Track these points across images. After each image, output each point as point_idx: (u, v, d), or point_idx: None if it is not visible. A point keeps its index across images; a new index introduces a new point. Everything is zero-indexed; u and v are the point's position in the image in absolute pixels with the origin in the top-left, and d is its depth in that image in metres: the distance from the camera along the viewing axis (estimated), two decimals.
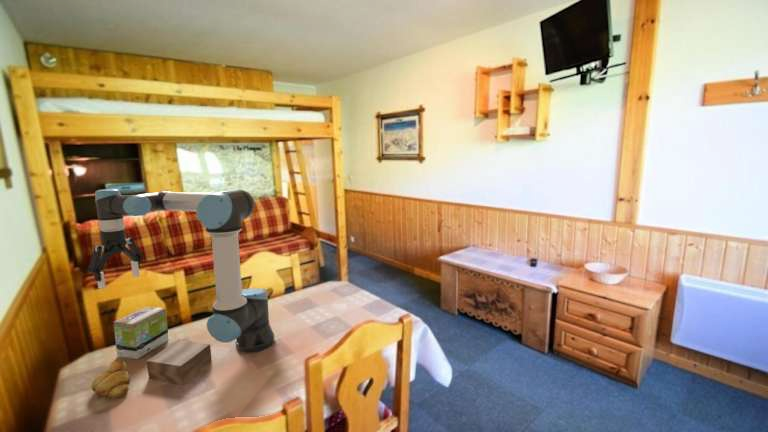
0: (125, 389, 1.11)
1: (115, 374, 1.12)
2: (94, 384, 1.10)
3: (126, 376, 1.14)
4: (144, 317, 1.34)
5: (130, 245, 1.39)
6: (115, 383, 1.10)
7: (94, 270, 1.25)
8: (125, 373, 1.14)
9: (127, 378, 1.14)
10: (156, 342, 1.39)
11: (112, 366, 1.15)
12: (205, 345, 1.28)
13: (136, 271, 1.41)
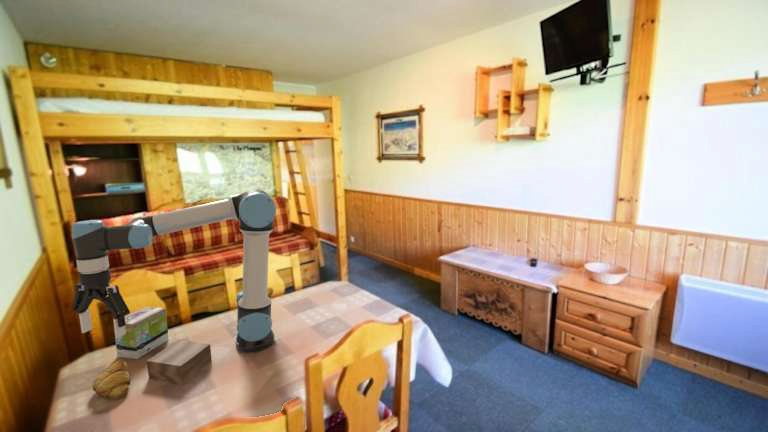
0: (125, 389, 1.11)
1: (115, 374, 1.12)
2: (95, 384, 1.10)
3: (127, 376, 1.14)
4: (144, 317, 1.34)
5: None
6: (115, 383, 1.10)
7: (73, 308, 1.10)
8: (126, 373, 1.14)
9: (128, 378, 1.14)
10: (156, 342, 1.39)
11: (113, 366, 1.15)
12: (205, 345, 1.28)
13: None
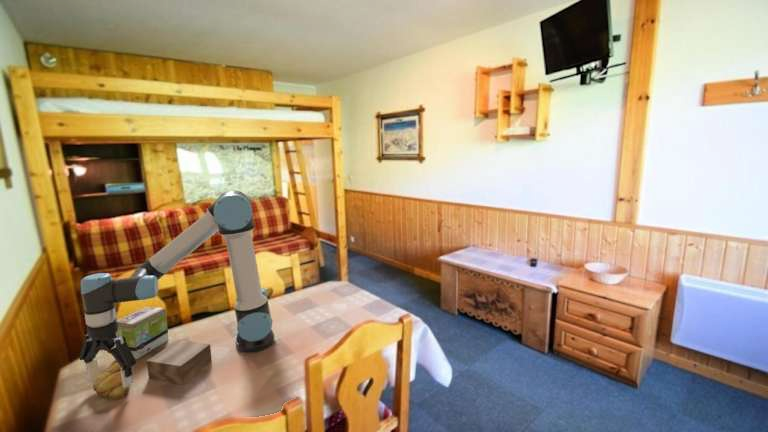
0: (126, 390, 1.11)
1: (116, 374, 1.12)
2: (95, 384, 1.10)
3: None
4: (144, 317, 1.34)
5: None
6: (116, 384, 1.10)
7: (80, 358, 1.12)
8: None
9: None
10: (156, 342, 1.39)
11: (114, 366, 1.15)
12: (205, 345, 1.28)
13: None
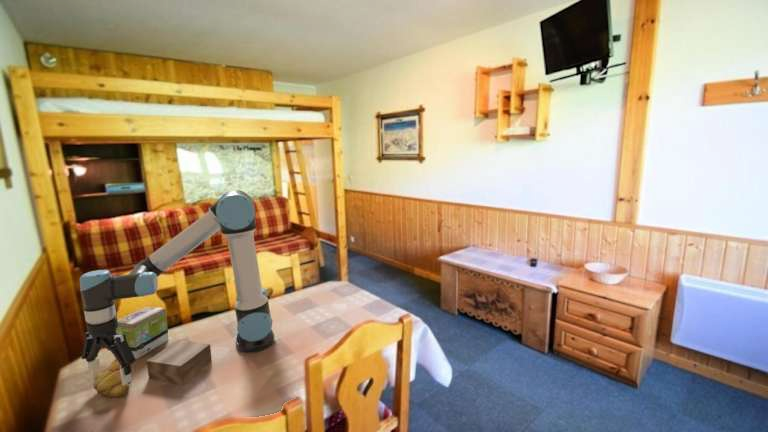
0: (126, 388, 1.11)
1: (116, 372, 1.12)
2: (96, 382, 1.11)
3: None
4: (144, 317, 1.34)
5: None
6: (116, 382, 1.10)
7: (83, 357, 1.12)
8: None
9: None
10: (156, 341, 1.39)
11: (114, 365, 1.16)
12: (205, 345, 1.28)
13: None
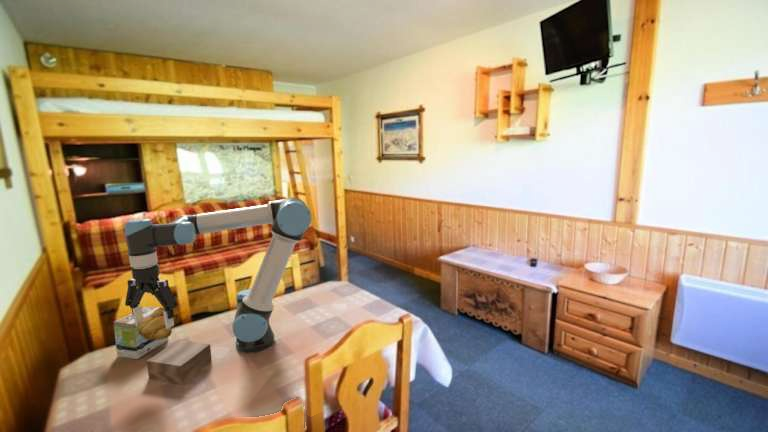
0: (169, 331, 1.16)
1: (159, 317, 1.17)
2: (140, 327, 1.16)
3: None
4: (144, 317, 1.34)
5: None
6: (160, 325, 1.15)
7: (126, 303, 1.17)
8: None
9: None
10: (156, 341, 1.39)
11: (155, 312, 1.20)
12: (205, 345, 1.28)
13: None
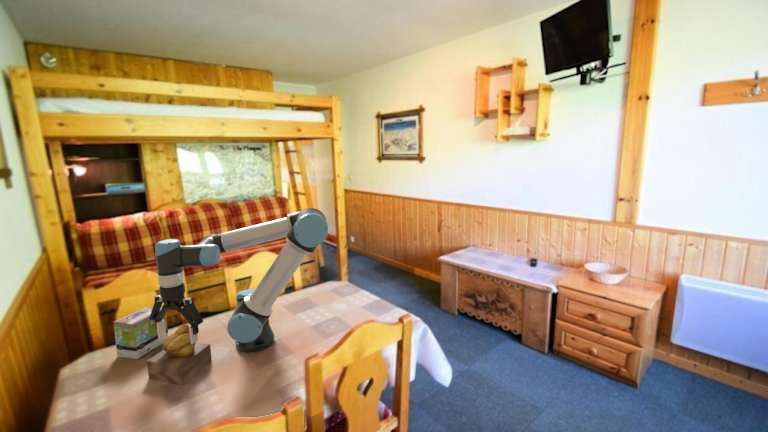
0: (192, 349, 1.22)
1: (183, 335, 1.22)
2: (165, 344, 1.21)
3: None
4: (144, 317, 1.34)
5: None
6: (184, 343, 1.20)
7: (151, 318, 1.23)
8: None
9: None
10: (156, 342, 1.39)
11: (179, 329, 1.26)
12: (205, 345, 1.28)
13: None
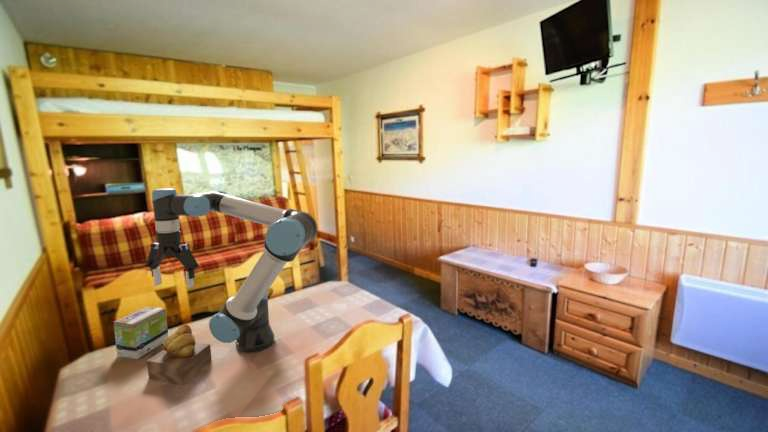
0: (193, 349, 1.21)
1: (183, 335, 1.22)
2: (165, 344, 1.21)
3: (193, 338, 1.24)
4: (144, 317, 1.34)
5: None
6: (184, 343, 1.20)
7: (147, 265, 1.28)
8: (191, 335, 1.25)
9: (193, 340, 1.24)
10: (156, 342, 1.39)
11: (180, 329, 1.26)
12: (205, 345, 1.28)
13: None
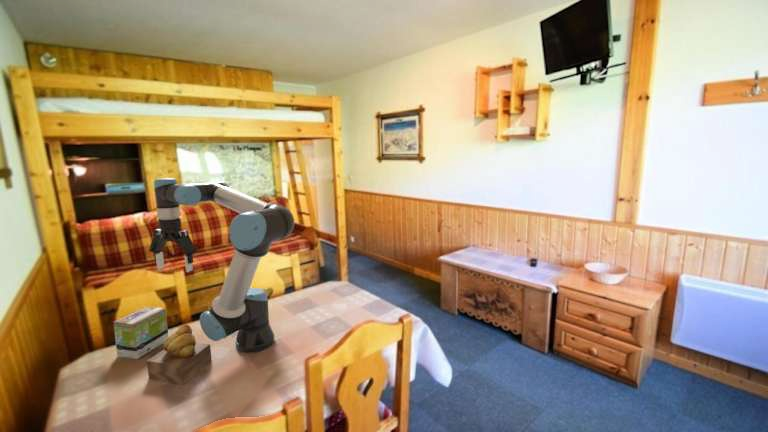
0: (193, 349, 1.21)
1: (184, 335, 1.22)
2: (166, 344, 1.21)
3: (193, 338, 1.24)
4: (144, 317, 1.34)
5: None
6: (184, 343, 1.20)
7: (150, 249, 1.37)
8: (192, 335, 1.25)
9: (194, 340, 1.24)
10: (156, 342, 1.39)
11: (180, 329, 1.26)
12: (205, 345, 1.28)
13: None
